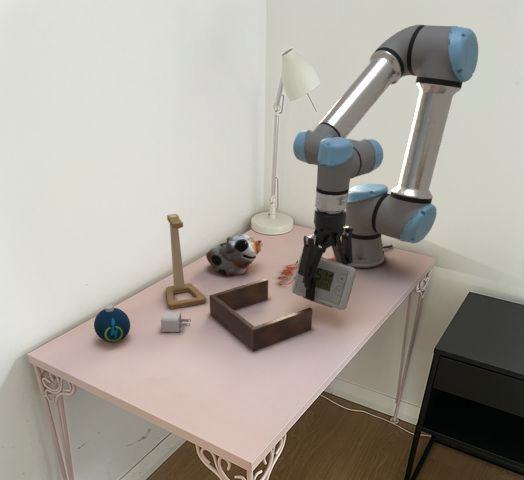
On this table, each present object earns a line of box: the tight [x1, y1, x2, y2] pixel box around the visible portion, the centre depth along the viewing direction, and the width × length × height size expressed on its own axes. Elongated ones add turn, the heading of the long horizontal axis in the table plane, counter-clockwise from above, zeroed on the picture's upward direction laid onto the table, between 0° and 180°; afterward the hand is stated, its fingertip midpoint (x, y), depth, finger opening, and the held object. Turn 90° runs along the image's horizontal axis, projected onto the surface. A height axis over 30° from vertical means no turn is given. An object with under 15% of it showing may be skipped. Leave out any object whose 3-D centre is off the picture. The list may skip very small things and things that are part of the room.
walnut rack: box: [208, 277, 314, 352], centre depth 138 cm, size 18×20×6 cm
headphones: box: [278, 257, 336, 286], centre depth 160 cm, size 17×5×20 cm
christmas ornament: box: [93, 304, 131, 343], centre depth 129 cm, size 8×8×10 cm
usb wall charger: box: [160, 311, 192, 333], centre depth 135 cm, size 4×7×4 cm, turn 88°
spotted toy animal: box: [205, 234, 264, 277], centre depth 162 cm, size 15×12×14 cm
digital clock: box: [291, 253, 357, 311], centre depth 137 cm, size 16×9×11 cm, turn 42°
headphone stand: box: [165, 213, 207, 310], centre depth 144 cm, size 10×11×22 cm
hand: (323, 294), depth 139 cm, fingers closed on digital clock, 8 cm apart
